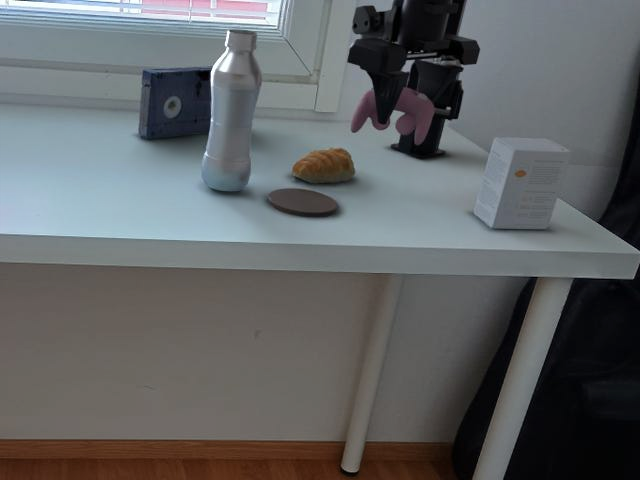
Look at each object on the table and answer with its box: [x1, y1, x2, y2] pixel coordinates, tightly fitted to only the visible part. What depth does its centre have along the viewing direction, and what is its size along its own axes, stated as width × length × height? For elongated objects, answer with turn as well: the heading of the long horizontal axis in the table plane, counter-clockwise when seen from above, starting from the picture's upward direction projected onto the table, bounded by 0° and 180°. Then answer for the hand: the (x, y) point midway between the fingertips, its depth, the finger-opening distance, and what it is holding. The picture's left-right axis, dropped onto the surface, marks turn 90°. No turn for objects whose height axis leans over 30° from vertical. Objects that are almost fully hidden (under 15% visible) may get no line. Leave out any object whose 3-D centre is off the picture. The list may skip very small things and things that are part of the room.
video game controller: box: [350, 87, 435, 145], centre depth 110 cm, size 10×5×7 cm, turn 62°
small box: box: [473, 136, 573, 230], centre depth 110 cm, size 8×6×10 cm
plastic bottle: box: [200, 28, 264, 192], centre depth 109 cm, size 6×7×20 cm
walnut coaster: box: [267, 187, 338, 218], centre depth 111 cm, size 9×9×1 cm
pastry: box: [291, 147, 356, 185], centre depth 121 cm, size 9×7×4 cm
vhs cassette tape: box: [137, 65, 214, 140], centre depth 134 cm, size 18×3×10 cm, turn 122°
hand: (400, 121), depth 110 cm, fingers closed on video game controller, 7 cm apart
